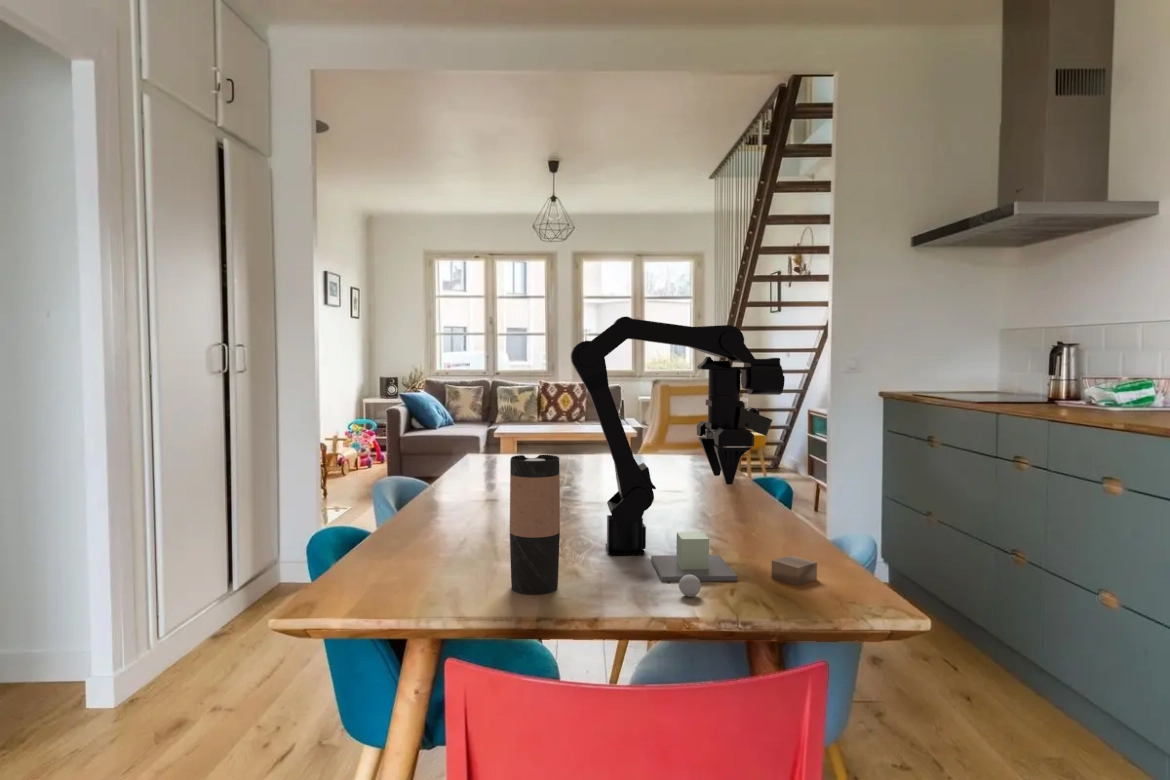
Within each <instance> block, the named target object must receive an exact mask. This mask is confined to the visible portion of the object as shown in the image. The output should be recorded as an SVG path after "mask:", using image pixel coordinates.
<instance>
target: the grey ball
mask: <svg viewBox="0 0 1170 780" xmlns="http://www.w3.org/2000/svg"><path fill="white" fill-rule="evenodd" d="M701 588H702V584H701V581H699V579H698V578H697V577H696V576H694V575H685V576H683V577H682V578H681V580H680V581H678V589H679V591H680V592H681V594H682V595H683V596H685V597H688V598H692V597H696V596H697V595H698V594H699V593H700V592H701Z"/></svg>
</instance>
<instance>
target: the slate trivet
mask: <svg viewBox="0 0 1170 780" xmlns="http://www.w3.org/2000/svg"><path fill="white" fill-rule="evenodd" d="M650 561H651V563H652V565H653V567H654V568H655V571H656V573H657V574H658V577H659V578H660V580H661V582H662V583H663V582H666V583H667V582H668V583H669V582H671V583H672V582H678V583H679V582H680V580H681V578H682V577H683V576H685V575H694V576H696V577H697V578H698V579H699V581H700V582H738V575H737V573H735V571H734V570H733V569H732V568H731V567H730V566H729V564H727V562H726V561H725V560H724V559H723V558H722V556H720V554H709V569H681V568H680V566H679V565H678V563H677V562H676V554H675V555H673V554H672V555H670V554H669V555H667V554H665V555H659V554H658V555H650Z"/></svg>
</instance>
